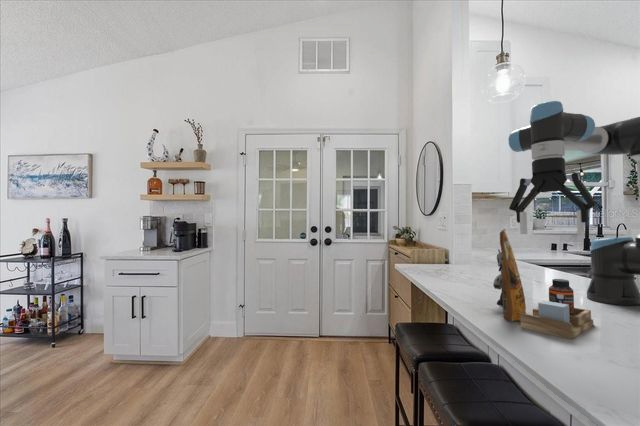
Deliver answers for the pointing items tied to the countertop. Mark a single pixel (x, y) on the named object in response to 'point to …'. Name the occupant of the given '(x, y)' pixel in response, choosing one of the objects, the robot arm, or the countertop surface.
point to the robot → (499, 277)
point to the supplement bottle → (562, 294)
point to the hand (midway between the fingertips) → (550, 234)
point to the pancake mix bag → (511, 283)
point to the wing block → (554, 311)
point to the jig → (558, 323)
